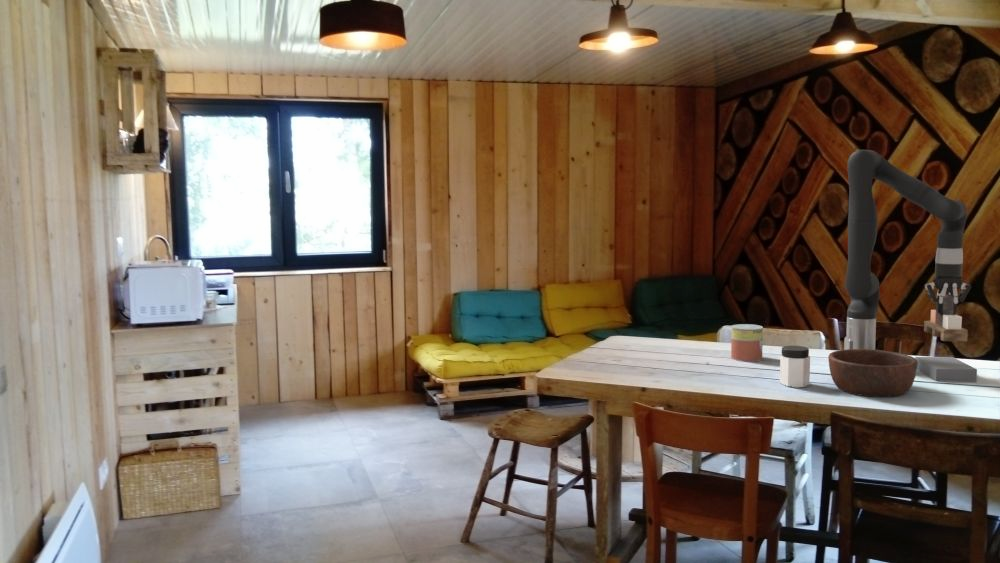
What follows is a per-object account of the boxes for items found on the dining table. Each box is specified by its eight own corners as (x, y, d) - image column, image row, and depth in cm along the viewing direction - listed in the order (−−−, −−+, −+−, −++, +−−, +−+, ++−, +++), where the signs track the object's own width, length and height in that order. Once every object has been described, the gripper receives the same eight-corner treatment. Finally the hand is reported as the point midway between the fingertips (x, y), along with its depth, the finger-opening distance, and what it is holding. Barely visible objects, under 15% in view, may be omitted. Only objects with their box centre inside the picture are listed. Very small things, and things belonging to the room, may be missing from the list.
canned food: (762, 362, 275) (763, 330, 274) (730, 360, 279) (730, 328, 277) (762, 355, 286) (763, 324, 284) (731, 354, 289) (731, 323, 288)
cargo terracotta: (935, 323, 249) (935, 311, 248) (930, 321, 253) (931, 309, 252) (948, 323, 248) (948, 311, 248) (943, 321, 252) (944, 309, 252)
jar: (788, 379, 250) (789, 344, 248) (813, 383, 244) (813, 347, 242) (775, 384, 244) (776, 348, 242) (800, 389, 238) (801, 352, 236)
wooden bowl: (936, 395, 228) (937, 361, 226) (868, 403, 221) (869, 369, 219) (873, 376, 252) (874, 346, 250) (810, 383, 245) (811, 352, 243)
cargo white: (947, 329, 239) (948, 316, 239) (942, 327, 243) (943, 314, 243) (961, 329, 238) (962, 317, 238) (955, 327, 242) (956, 314, 242)
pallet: (943, 341, 239) (945, 298, 237) (923, 331, 255) (925, 291, 253) (967, 341, 238) (969, 298, 236) (946, 331, 253) (948, 291, 252)
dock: (935, 381, 243) (936, 368, 243) (914, 368, 261) (915, 356, 260) (976, 381, 241) (976, 369, 241) (952, 368, 259) (952, 357, 258)
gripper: (929, 263, 241) (927, 316, 243) (977, 263, 238) (974, 316, 240) (921, 260, 248) (918, 312, 250) (967, 260, 246) (964, 312, 248)
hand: (946, 314), depth 245 cm, fingers closed on pallet, 3 cm apart
